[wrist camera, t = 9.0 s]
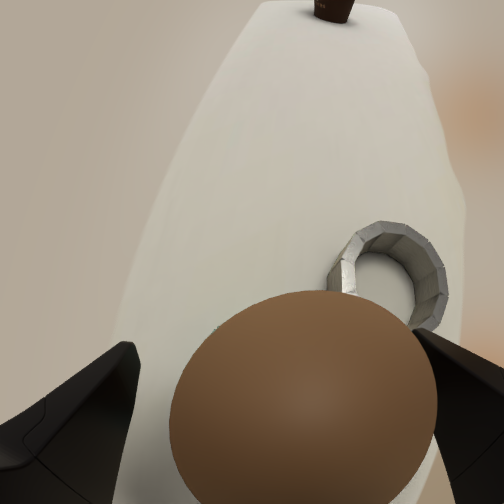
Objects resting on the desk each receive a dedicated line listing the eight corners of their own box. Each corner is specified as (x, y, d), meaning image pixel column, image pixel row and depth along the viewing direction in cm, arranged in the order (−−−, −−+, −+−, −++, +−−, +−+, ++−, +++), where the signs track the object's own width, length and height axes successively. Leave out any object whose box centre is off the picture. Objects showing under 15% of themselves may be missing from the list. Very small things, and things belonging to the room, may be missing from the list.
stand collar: (426, 346, 16) (452, 339, 13) (326, 349, 16) (342, 345, 14) (417, 246, 19) (437, 228, 16) (325, 237, 19) (338, 215, 17)
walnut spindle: (307, 409, 15) (445, 479, 3) (235, 425, 14) (208, 554, 2) (292, 341, 16) (403, 265, 5) (220, 356, 16) (146, 318, 4)
